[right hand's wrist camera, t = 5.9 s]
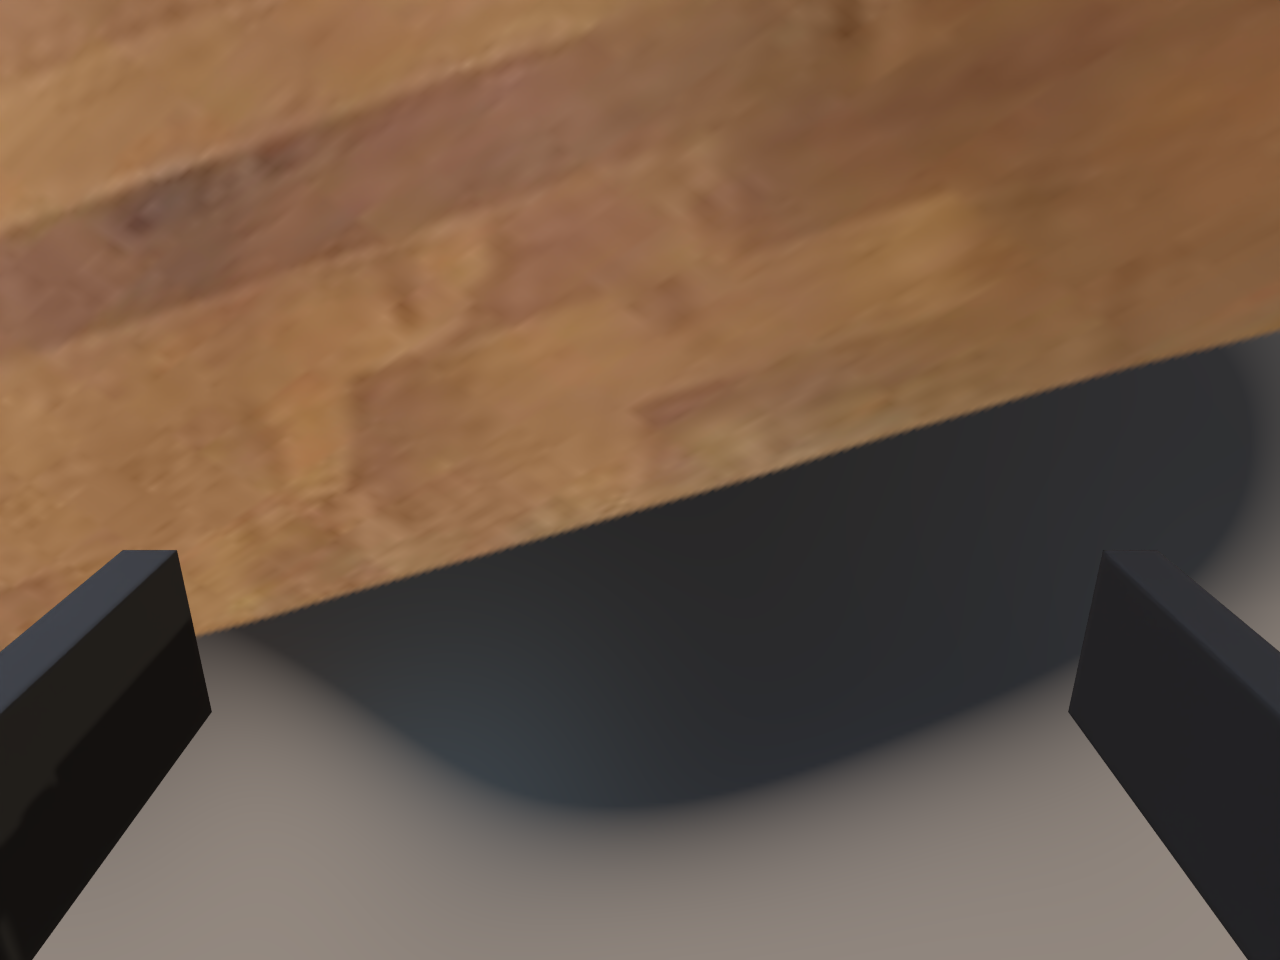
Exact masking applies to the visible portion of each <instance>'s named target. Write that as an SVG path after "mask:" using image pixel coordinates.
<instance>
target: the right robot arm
mask: <svg viewBox="0 0 1280 960" xmlns="http://www.w3.org/2000/svg"><path fill="white" fill-rule="evenodd" d="M211 712H212V711H211V706H210V702H209V697H208V692H207V688H206V683H205V678H204V674H203V669H202V664H201V660H200V655H199V651H198V646H197V641H196V637H195V632H194V627H193V623H192V618H191V613H190V609H189V604H188V600H187V595H186V590H185V586H184V581H183V576H182V572H181V567H180V562H179V558H178V553H177V550H123V551H121V552H120V553H119V554H118V555H116V556H115V557H114V558H113V559H112V560H110V561H109V562H108V563H107V564H106V565H104V566H103V567H102V568H101V569H100V570H98V571H97V572H96V573H95V574H94V575H92V576H91V577H90V578H89V579H88V580H86V581H85V582H84V583H83V584H82V585H80V586H79V587H78V588H77V589H76V590H74V591H73V592H72V593H71V594H70V595H68V596H67V597H66V598H65V599H64V600H62V601H61V602H60V603H59V604H58V605H56V606H55V607H54V608H53V609H51V610H50V611H49V612H48V613H47V614H45V615H44V616H43V617H42V618H41V619H39V620H38V621H37V622H36V623H35V624H33V625H32V626H31V627H30V628H29V629H27V630H26V631H25V632H24V633H23V634H21V635H20V636H19V637H18V638H17V639H15V640H14V641H13V642H12V643H11V644H9V645H8V646H7V647H6V648H5V649H3V650H2V651H1V652H0V960H32V959H33V958H34V956H35V955H36V954H37V952H38V951H39V950H40V948H41V947H42V945H43V944H44V943H45V941H46V940H47V939H48V937H49V936H50V934H51V933H52V932H53V930H54V929H55V928H56V926H57V925H58V923H59V922H60V921H61V919H62V918H63V916H64V915H65V914H66V912H67V911H68V910H69V908H70V907H71V905H72V904H73V903H74V901H75V900H76V899H77V897H78V896H79V894H80V893H81V892H82V890H83V889H84V887H85V886H86V885H87V883H88V882H89V881H90V879H91V878H92V876H93V875H94V874H95V872H96V871H97V869H98V868H99V867H100V865H101V864H102V863H103V861H104V860H105V859H106V857H107V856H108V854H109V853H110V852H111V850H112V849H113V847H114V846H115V845H116V843H117V842H118V841H119V839H120V838H121V836H122V835H123V834H124V832H125V831H126V830H127V828H128V827H129V825H130V824H131V823H132V821H133V820H134V818H135V817H136V816H137V814H138V813H139V812H140V810H141V809H142V807H143V806H144V805H145V803H146V802H147V801H148V799H149V798H150V796H151V795H152V794H153V792H154V791H155V789H156V788H157V787H158V785H159V784H160V783H161V781H162V780H163V778H164V777H165V776H166V774H167V773H168V772H169V770H170V769H171V767H172V766H173V765H174V763H175V762H176V760H177V759H178V758H179V756H180V755H181V754H182V752H183V751H184V749H185V748H186V747H187V745H188V744H189V743H190V741H191V740H192V738H193V737H194V736H195V734H196V733H197V732H198V730H199V729H200V727H201V726H202V725H203V723H204V722H205V720H206V719H207V718H208V716H209V715H210V714H211ZM1068 712H1069V714H1070V715H1071V716H1072V718H1073V719H1074V720H1075V722H1076V723H1077V725H1078V726H1079V727H1080V729H1081V730H1082V732H1083V733H1084V734H1085V736H1086V737H1087V738H1088V740H1089V741H1090V743H1091V744H1092V745H1093V747H1094V748H1095V749H1096V751H1097V752H1098V754H1099V755H1100V756H1101V758H1102V759H1103V760H1104V762H1105V763H1106V764H1107V766H1108V767H1109V769H1110V770H1111V772H1112V773H1113V774H1114V776H1115V777H1116V778H1117V780H1118V781H1119V783H1120V784H1121V785H1122V787H1123V788H1124V789H1125V791H1126V792H1127V794H1128V795H1129V796H1130V798H1131V799H1132V801H1133V802H1134V803H1135V805H1136V806H1137V807H1138V809H1139V810H1140V812H1141V813H1142V814H1143V816H1144V817H1145V818H1146V820H1147V821H1148V823H1149V824H1150V825H1151V827H1152V828H1153V830H1154V831H1155V832H1156V834H1157V835H1158V836H1159V838H1160V839H1161V841H1162V842H1163V843H1164V845H1165V846H1166V847H1167V849H1168V850H1169V852H1170V853H1171V854H1172V856H1173V857H1174V859H1175V860H1176V861H1177V863H1178V864H1179V865H1180V867H1181V868H1182V869H1183V871H1184V872H1185V874H1186V875H1187V876H1188V878H1189V879H1190V881H1191V882H1192V883H1193V885H1194V886H1195V888H1196V889H1197V890H1198V892H1199V893H1200V894H1201V896H1202V897H1203V899H1204V900H1205V901H1206V903H1207V904H1208V905H1209V907H1210V908H1211V910H1212V911H1213V912H1214V914H1215V915H1216V916H1217V918H1218V919H1219V921H1220V922H1221V923H1222V925H1223V926H1224V928H1225V929H1226V930H1227V932H1228V933H1229V934H1230V936H1231V937H1232V939H1233V940H1234V941H1235V943H1236V944H1237V945H1238V947H1239V948H1240V950H1241V951H1242V952H1243V954H1244V955H1245V956H1246V958H1247V959H1248V960H1280V652H1279V651H1278V650H1277V649H1275V648H1274V647H1273V646H1272V645H1271V644H1269V643H1268V642H1267V641H1266V640H1265V639H1263V638H1262V637H1261V636H1260V635H1259V634H1257V633H1256V632H1255V631H1254V630H1253V629H1251V628H1250V627H1249V626H1248V625H1247V624H1245V623H1244V622H1243V621H1242V620H1241V619H1239V618H1238V617H1237V616H1236V615H1234V614H1233V613H1232V612H1231V611H1230V610H1229V609H1227V608H1226V607H1225V606H1224V605H1222V604H1221V603H1220V602H1219V601H1218V600H1216V599H1215V598H1214V597H1213V596H1212V595H1210V594H1209V593H1208V592H1207V591H1206V590H1204V589H1203V588H1202V587H1201V586H1200V585H1198V584H1197V583H1196V582H1195V581H1194V580H1192V579H1191V578H1190V577H1189V576H1188V575H1186V574H1185V573H1184V572H1183V571H1182V570H1180V569H1179V568H1178V567H1177V566H1176V565H1174V564H1173V563H1172V562H1171V561H1170V560H1168V559H1167V558H1166V557H1165V556H1164V555H1162V554H1161V553H1160V552H1159V551H1157V550H1103V553H1102V558H1101V563H1100V567H1099V572H1098V576H1097V581H1096V586H1095V590H1094V595H1093V600H1092V604H1091V609H1090V613H1089V618H1088V623H1087V627H1086V632H1085V637H1084V641H1083V646H1082V651H1081V655H1080V660H1079V665H1078V669H1077V674H1076V678H1075V683H1074V688H1073V692H1072V697H1071V702H1070V706H1069V711H1068Z"/></svg>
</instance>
